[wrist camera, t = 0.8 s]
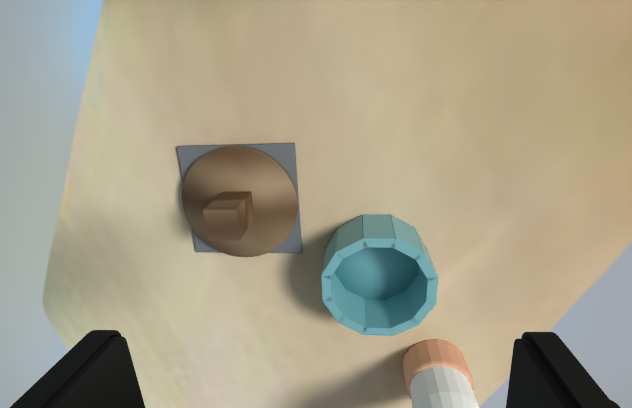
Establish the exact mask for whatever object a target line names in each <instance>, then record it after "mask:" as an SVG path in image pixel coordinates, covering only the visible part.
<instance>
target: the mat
mask: <svg viewBox="0 0 632 408" xmlns="http://www.w3.org/2000/svg"><path fill="white" fill-rule="evenodd" d="M233 145H240V146H247V147H252V148H255V149H258V150H260V151H262V152H264V153H266V154H268V155H269V156H271V157H272V158H274V159H275V160H276V161H277V162H279V163H280V164H281V166H282V167H283V168H284V169H285V170H286V171H287V173H288V174H289V176H290V178H291V179H292V181H293V184H294V186H295V189H296V193H297V198H298V184H297V170H296V155H295V143H272V144H233ZM224 146H232V145H194V146H177V151H178V156H179V162H180V167H181V172H182V178H183V183H184V180H185V177H186V175H187V173H188V171H189V170H190V168H191V167H192V165H193V164H194V163H195V162H196V161H197V160H198V159H200V158H201V157H202V156H204V155H205V154H207V153H209V152H211V151H212V150H215V149H217V148H220V147H224ZM192 232H193V237H194V243H195V248H196V252H221V251H218V250H217V249H215V248H213V247H211V246H210V245H209V244H207V243H206V242H205V241H203V240H202V239H201V238H200V237H199V236H198V235H197V233H196V232H195V231H194V230H193V228H192ZM268 253H302V243H301V229H300V214H299V199H298V212H297V217H296V221H295V224H294V226H293V228H292V230H291V232H290V234H289V236H288V237H287V238H286V240H285V241H284V242H283V243H282V244H281V245H279V246H278V247H277V248H275V249H274V250H272V251H270V252H268Z"/></svg>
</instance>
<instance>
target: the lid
mask: <svg viewBox="0 0 632 408" xmlns="http://www.w3.org/2000/svg"><path fill="white" fill-rule="evenodd" d="M182 202H183V208H184V212H185V215H186V217H187V220H188V221H189V223H190V225H191V227H192V228H193V230H194V231H195V232H196V233H197V235H198V236H199V237H200V238H201V239H202V240H203V241H205V242H206V243H207V244H209V245H210V246H211V247H213V248H215V249H217V250H218V251H221V252H223V253H226V254H229V255H233V256H238V257H254V256H259V255H263V254H266V253H268V252H270V251H272V250H274V249H275V248H277V247H278V246H279V245H281V244H282V243H283V242H284V241H285V240H286V238H287V237H288V236H289V234H290V232H291V230H292V228H293V226H294V224H295V221H296V217H297V212H298V198H297V193H296V189H295V186H294V184H293V181H292V179H291V178H290V176H289V174H288V173H287V171H286V170H285V169H284V168H283V167H282V166H281V164H280V163H279V162H277V161H276V160H275V159H274V158H272V157H271V156H269V155H268V154H266V153H264V152H262V151H260V150H258V149H255V148H252V147H247V146H240V145H232V146H224V147H220V148H217V149H215V150H212V151H211V152H209V153H207V154H205V155H204V156H202V157H201V158H200V159H198V160H197V161H196V162H195V163H194V164H193V165H192V167H191V168H190V170H189V171H188V173H187V175H186V177H185V180H184V184H183V189H182Z"/></svg>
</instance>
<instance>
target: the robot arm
mask: <svg viewBox="0 0 632 408" xmlns="http://www.w3.org/2000/svg"><path fill="white" fill-rule="evenodd" d="M10 408H145V405H144V402H143V398H142V394H141V391H140V387H139V384H138V380H137V377H136V373H135V369H134V366H133V362H132V359H131V355H130V352H129V348H128V345H127V341H126V339H125V338H124V337H122V336H121V334H120V333H119V332H118V331H116V330H94V331H91V332H89V333H88V334H87V335H86V336H85V337H84V338H83V339H82V340H80V341H79V342H78V343H77V344H76V345H75V346H74V347H73V348H72V349H71V350H70V351H69V352H68V353H67V354H66V355H65V356H64V357H63V358H62V359H61V360H59V361H58V362H57V363H56V364H55V365H54V366H53V367H52V368H51V369H50V370H49V371H48V372H47V373H46V374H45V375H44V376H43V377H42V378H40V379H39V380H38V381H37V382H36V383H35V384H34V385H33V386H32V387H31V388H30V389H29V390H28V391H27V392H26V393H25V394H24V395H23V396H22V397H20V398H19V399H18V400H17V401H16V402H15V403H14V404H13V405H12V406H11V407H10ZM506 408H620V407H619V406H618V405H617V404H616V403H615V402H613V401H611V400H609V398H608V397H607V396H606V395H605V394H604V392H603V391H602V390H601V388H600V387H599V386H598V385H597V384H596V382H595V381H594V380H593V379H592V377H591V376H590V375H589V374H588V372H587V371H586V370H585V369H584V367H583V366H582V365H581V364H580V363H579V361H578V360H577V359H576V358H575V356H574V355H573V354H572V353H571V351H570V350H569V349H568V348H567V346H566V345H565V344H564V343H563V342H562V340H561V339H560V338H559V337H558V336H557V335H556V334H555V333H553V332H525V333H524V334H523V335H522V339H516V340H515V342H514V348H513V356H512V364H511V372H510V380H509V389H508V397H507V405H506Z"/></svg>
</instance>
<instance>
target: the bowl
mask: <svg viewBox="0 0 632 408" xmlns="http://www.w3.org/2000/svg"><path fill="white" fill-rule="evenodd" d="M321 280H322V301H323V302H324V304H325V305H326V306H327V308H328V309H329V311H330V312H331V313H332V315H333V316H334V318H335V319H336V320H337V322H338V323H340V324H342V325H344V326H346V327H348V328H350V329H352V330H354V331H356V332H358V333H360V334H362V335H382V336H393V335H396V334H398V333H400V332H403V331H405V330H408V329H410V328H413V327H415V326H417V325H418V324H420V323H421V322H422V320H423V319H424V318H425V317H426V315H427V314H428V313H429V312H430V311H431V309H432V308H433V307H434V306H435V304H436V297H437V286H438V276H437V273H436V271H435V268H434V265H433V263H432V260H431V258H430V255H429V252H428V250H427V248H426V246H425V244H424V243H423V241H422V239H421V238H420V236H419V234H418V232H417V231H416V229H415V228H414V227H413V226H411V225H409V224H407V223H405V222H403V221H401V220H400V219H398V218H396V217H394V216H392V215H363V216H362V215H361V216H359V217H357V218H355V219H353V220H351V221H350V222H348V223H346V224H344V225H342V226H340V227H339V228H338V229H337V231H336V232H335V234H334V236H333V237H332V239H331V241H330V242H329V244H328V246H327V247H326V251H325V257H324V263H323V269H322V275H321Z"/></svg>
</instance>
